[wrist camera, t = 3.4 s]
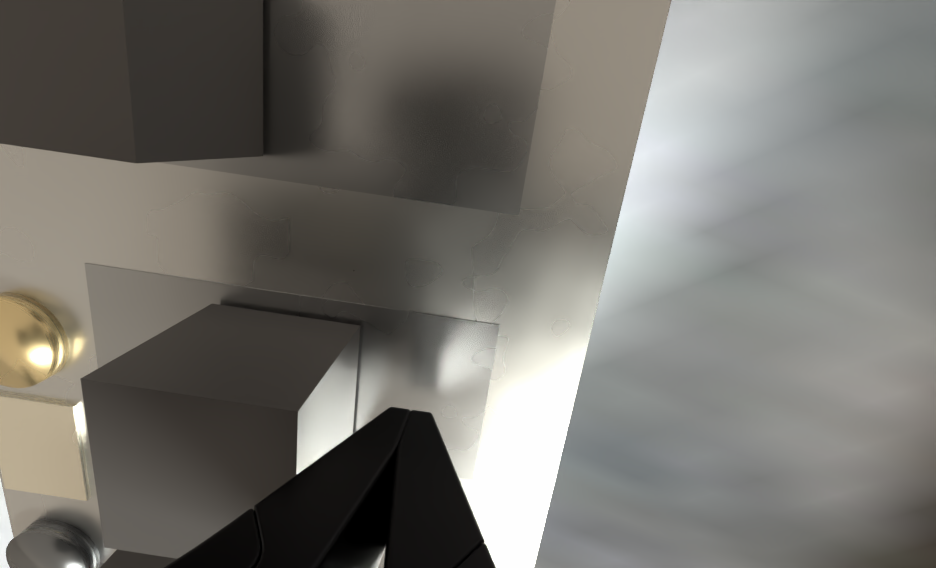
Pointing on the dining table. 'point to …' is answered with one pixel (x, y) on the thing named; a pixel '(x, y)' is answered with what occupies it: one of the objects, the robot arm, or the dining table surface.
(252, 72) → the block
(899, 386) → the dining table surface
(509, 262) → the panel
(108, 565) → the block
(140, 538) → the grey cube
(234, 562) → the robot arm
